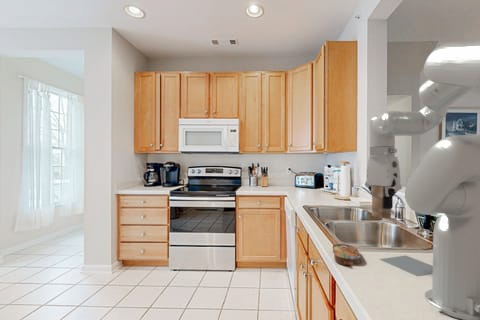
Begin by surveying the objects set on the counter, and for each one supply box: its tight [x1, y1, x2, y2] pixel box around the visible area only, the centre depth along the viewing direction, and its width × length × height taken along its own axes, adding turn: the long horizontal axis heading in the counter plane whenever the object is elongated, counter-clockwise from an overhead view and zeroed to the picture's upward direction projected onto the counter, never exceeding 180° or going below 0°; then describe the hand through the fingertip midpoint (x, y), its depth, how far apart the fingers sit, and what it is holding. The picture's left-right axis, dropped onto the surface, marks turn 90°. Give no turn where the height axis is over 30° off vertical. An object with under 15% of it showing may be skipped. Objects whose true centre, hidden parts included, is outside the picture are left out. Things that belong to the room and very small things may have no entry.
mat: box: [379, 255, 433, 277], centre depth 89 cm, size 14×12×1 cm
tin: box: [332, 243, 362, 266], centre depth 96 cm, size 15×3×8 cm
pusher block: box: [371, 185, 392, 219], centre depth 92 cm, size 4×4×14 cm
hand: (382, 206), depth 92 cm, fingers closed on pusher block, 4 cm apart
